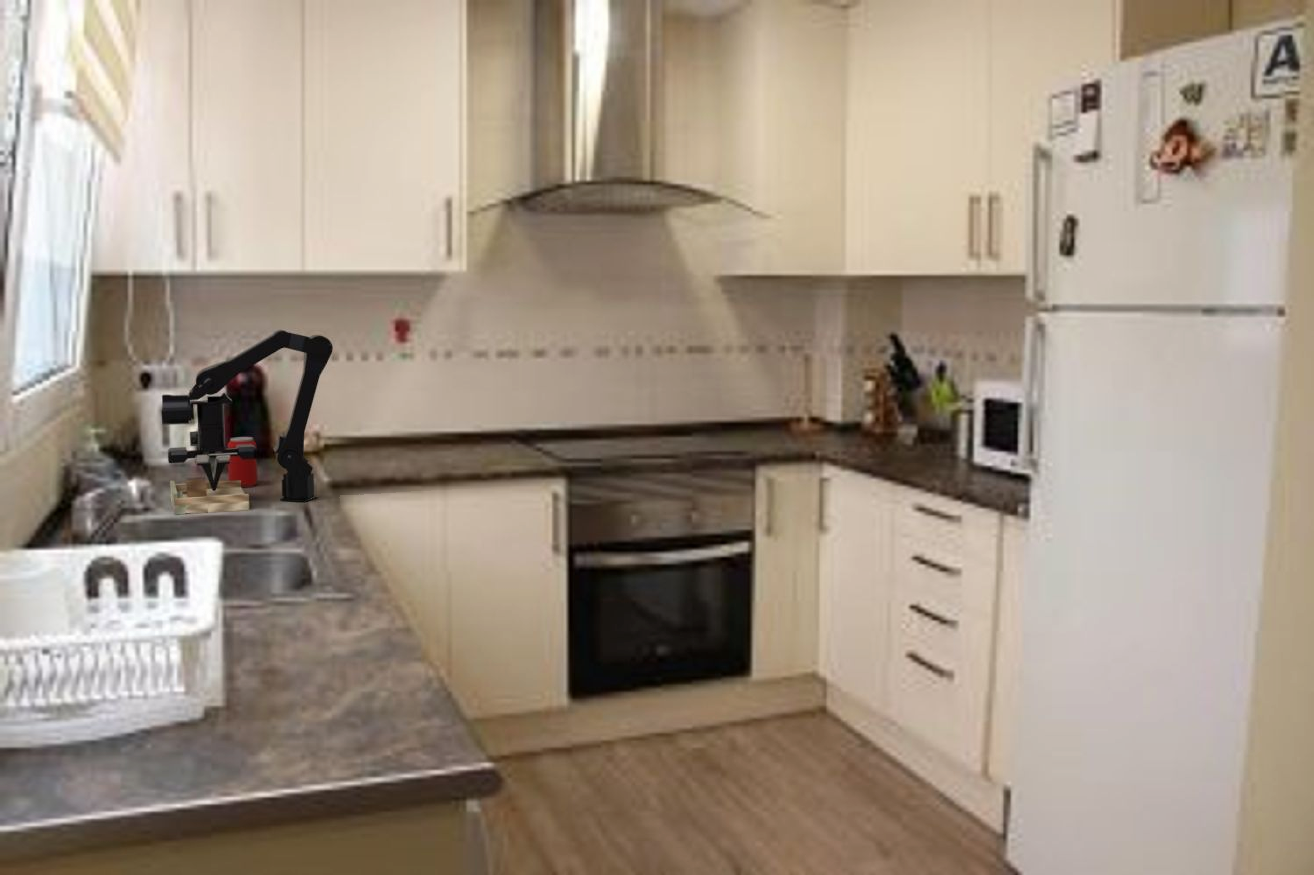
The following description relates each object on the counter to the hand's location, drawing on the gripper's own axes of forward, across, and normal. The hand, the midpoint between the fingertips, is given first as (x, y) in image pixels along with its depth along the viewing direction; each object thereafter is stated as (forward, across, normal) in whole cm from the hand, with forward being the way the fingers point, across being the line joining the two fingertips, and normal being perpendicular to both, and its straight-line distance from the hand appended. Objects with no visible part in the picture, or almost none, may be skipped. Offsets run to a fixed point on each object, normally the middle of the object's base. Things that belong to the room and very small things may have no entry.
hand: (213, 490), depth 258 cm
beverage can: (+3, -8, -22) cm, 24 cm away
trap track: (+3, +1, 0) cm, 3 cm away
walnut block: (+1, +4, 0) cm, 4 cm away
